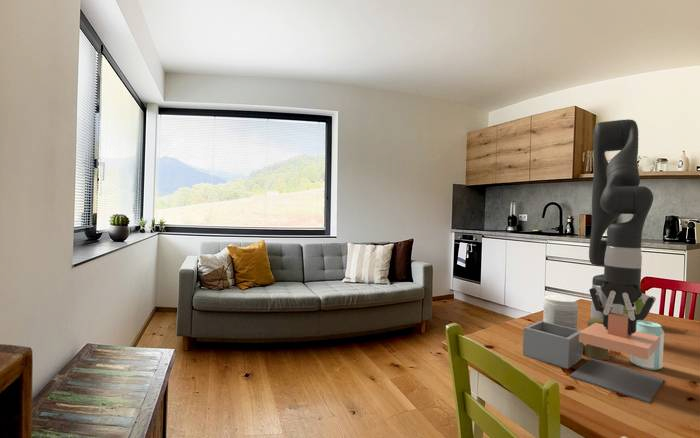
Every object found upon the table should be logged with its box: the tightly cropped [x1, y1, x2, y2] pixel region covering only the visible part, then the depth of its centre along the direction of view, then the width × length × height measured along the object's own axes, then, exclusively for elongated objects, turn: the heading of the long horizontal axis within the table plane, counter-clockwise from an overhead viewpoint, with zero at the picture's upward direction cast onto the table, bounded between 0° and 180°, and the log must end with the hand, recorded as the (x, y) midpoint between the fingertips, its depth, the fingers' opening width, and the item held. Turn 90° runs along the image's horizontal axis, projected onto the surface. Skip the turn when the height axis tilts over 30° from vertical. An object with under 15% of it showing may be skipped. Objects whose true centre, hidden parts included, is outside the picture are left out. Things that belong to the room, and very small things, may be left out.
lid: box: [579, 312, 659, 360], centre depth 92 cm, size 14×14×8 cm
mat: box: [569, 357, 665, 404], centre depth 93 cm, size 18×16×1 cm
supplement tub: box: [542, 294, 579, 329], centre depth 117 cm, size 10×10×15 cm
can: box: [629, 320, 665, 371], centre depth 102 cm, size 7×7×12 cm
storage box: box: [522, 320, 584, 370], centre depth 106 cm, size 12×12×8 cm
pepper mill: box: [584, 317, 610, 361], centre depth 108 cm, size 6×6×11 cm
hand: (619, 331), depth 92 cm, fingers closed on lid, 4 cm apart
